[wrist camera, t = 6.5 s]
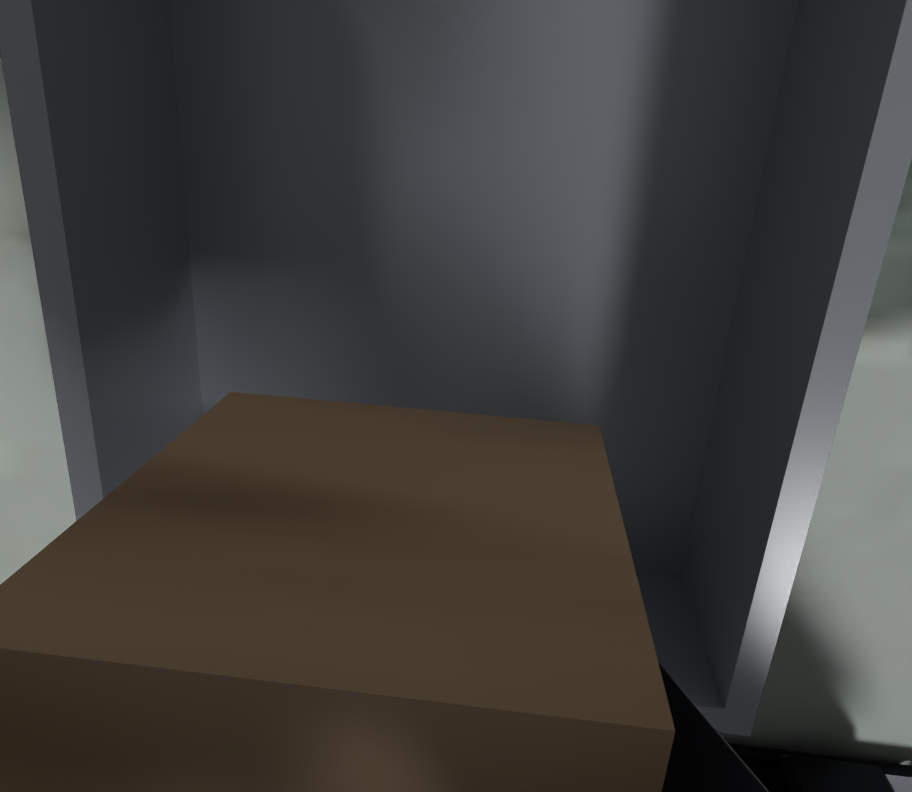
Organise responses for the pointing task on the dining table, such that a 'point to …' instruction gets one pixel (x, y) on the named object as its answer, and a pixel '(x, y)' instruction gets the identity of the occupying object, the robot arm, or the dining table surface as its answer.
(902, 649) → the dining table surface
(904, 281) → the dining table surface
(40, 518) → the dining table surface
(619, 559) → the walnut block
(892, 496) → the dining table surface
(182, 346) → the tote
